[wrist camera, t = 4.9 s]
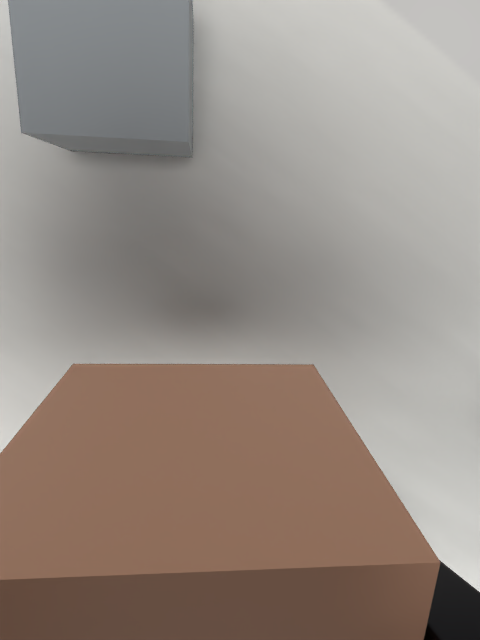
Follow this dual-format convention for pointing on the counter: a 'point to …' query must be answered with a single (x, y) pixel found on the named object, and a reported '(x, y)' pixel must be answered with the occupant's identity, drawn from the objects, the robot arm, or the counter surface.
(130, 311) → the counter surface
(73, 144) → the slate cube
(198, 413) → the terracotta cube
